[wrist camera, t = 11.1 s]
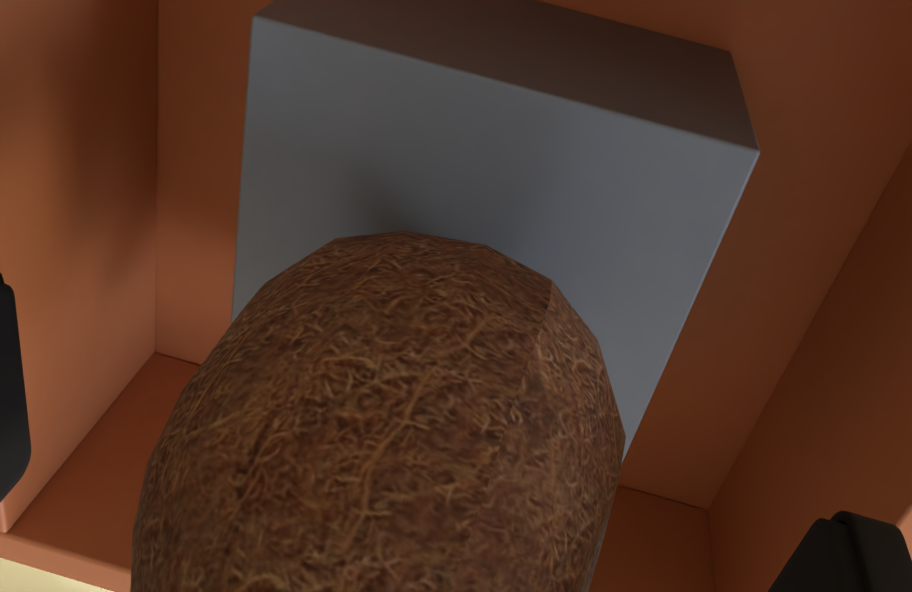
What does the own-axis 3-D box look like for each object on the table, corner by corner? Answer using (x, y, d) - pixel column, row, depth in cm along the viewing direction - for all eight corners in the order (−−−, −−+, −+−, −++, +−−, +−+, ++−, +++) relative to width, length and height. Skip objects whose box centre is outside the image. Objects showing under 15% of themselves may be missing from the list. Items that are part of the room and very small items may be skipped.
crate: (132, -411, 13) (-223, -523, 8) (1119, -165, 13) (1476, -102, 7) (137, 353, 22) (-29, 551, 17) (725, 521, 21) (753, 785, 16)
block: (347, -51, 15) (250, 14, 11) (732, 51, 15) (762, 151, 11) (306, 273, 19) (223, 400, 15) (610, 358, 19) (602, 509, 15)
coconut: (320, 414, 15) (64, 938, 8) (266, 141, 12) (-173, 592, 6) (623, 434, 14) (606, 1048, 7) (635, 142, 11) (624, 690, 5)
